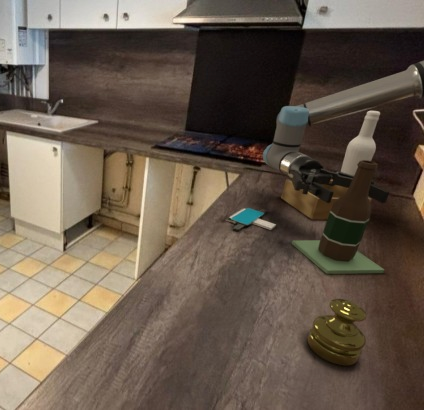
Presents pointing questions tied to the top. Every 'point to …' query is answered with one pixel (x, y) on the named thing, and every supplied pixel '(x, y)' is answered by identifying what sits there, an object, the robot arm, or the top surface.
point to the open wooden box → (312, 200)
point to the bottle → (361, 145)
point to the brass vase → (338, 333)
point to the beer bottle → (349, 216)
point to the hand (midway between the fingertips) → (358, 197)
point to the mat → (332, 266)
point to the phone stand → (249, 219)
